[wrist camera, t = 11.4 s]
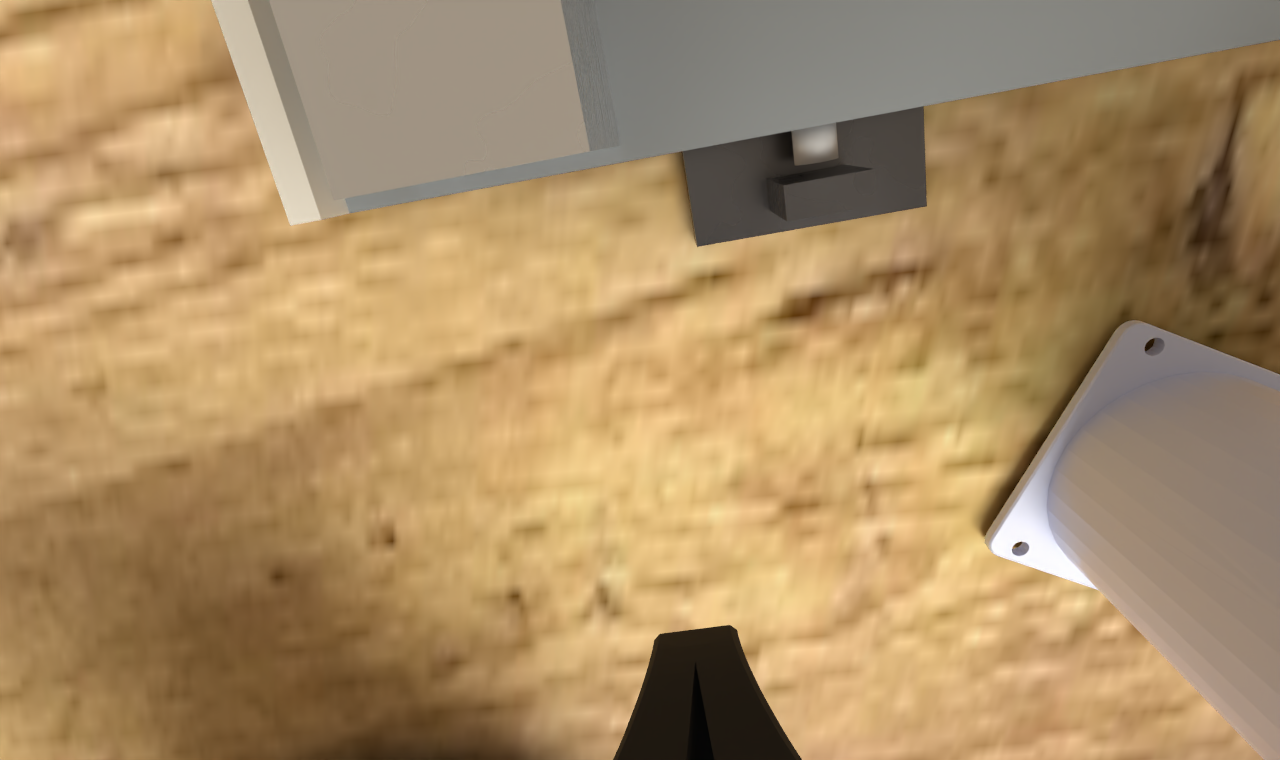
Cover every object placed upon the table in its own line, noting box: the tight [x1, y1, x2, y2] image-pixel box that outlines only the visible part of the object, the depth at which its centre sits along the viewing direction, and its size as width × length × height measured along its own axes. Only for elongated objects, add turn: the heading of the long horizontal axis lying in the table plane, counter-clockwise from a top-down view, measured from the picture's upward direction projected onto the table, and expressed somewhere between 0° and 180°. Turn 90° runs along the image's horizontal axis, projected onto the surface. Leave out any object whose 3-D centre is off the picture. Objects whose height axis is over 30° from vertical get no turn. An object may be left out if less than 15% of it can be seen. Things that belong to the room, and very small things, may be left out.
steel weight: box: [269, 0, 620, 200], centre depth 13 cm, size 5×5×4 cm
